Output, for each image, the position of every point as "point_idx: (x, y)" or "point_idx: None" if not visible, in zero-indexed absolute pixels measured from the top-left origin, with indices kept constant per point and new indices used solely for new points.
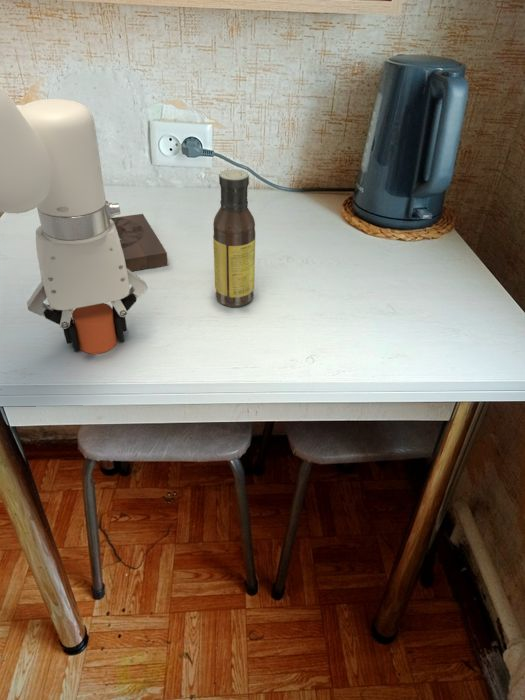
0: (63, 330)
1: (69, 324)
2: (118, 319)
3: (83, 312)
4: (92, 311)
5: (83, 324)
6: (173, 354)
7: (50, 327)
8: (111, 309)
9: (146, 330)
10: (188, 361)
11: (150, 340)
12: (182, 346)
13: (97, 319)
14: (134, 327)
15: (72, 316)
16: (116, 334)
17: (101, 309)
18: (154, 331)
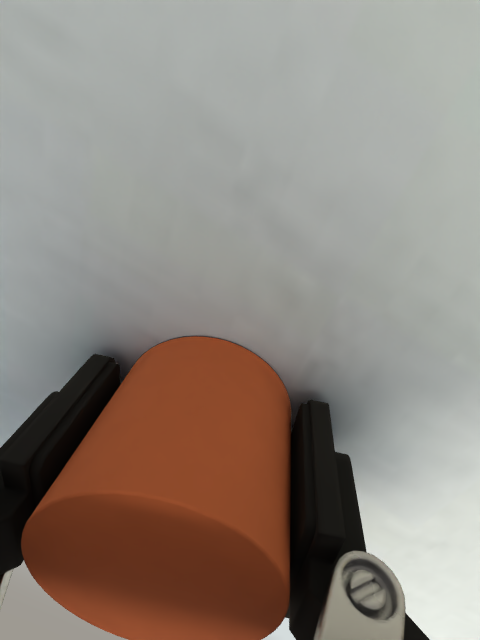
0: (25, 425)
1: (8, 576)
2: (288, 616)
3: (95, 559)
4: (155, 577)
5: (81, 616)
6: (416, 578)
7: (11, 183)
8: (278, 617)
9: (433, 447)
10: (432, 613)
11: (401, 498)
12: (475, 570)
13: (162, 631)
14: (402, 404)
15: (23, 553)
16: (291, 437)
17: (218, 588)
18: (458, 468)
